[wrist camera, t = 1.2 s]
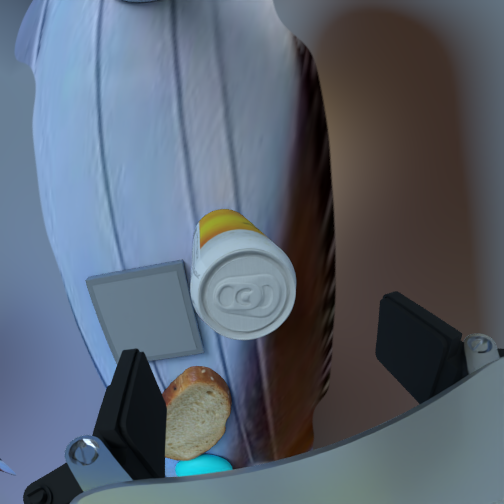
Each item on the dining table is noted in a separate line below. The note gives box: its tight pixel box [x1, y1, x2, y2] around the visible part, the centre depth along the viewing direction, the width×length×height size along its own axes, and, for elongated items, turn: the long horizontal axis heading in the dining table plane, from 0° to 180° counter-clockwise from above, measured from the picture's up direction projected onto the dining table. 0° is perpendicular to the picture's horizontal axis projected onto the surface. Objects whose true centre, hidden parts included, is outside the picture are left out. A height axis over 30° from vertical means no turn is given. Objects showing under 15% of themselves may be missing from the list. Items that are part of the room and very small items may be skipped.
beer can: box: [190, 209, 296, 340], centre depth 22 cm, size 6×6×15 cm
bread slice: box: [162, 366, 232, 461], centre depth 33 cm, size 18×18×4 cm
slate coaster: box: [85, 260, 204, 364], centre depth 29 cm, size 11×11×1 cm
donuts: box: [175, 454, 233, 477], centre depth 34 cm, size 10×10×10 cm
